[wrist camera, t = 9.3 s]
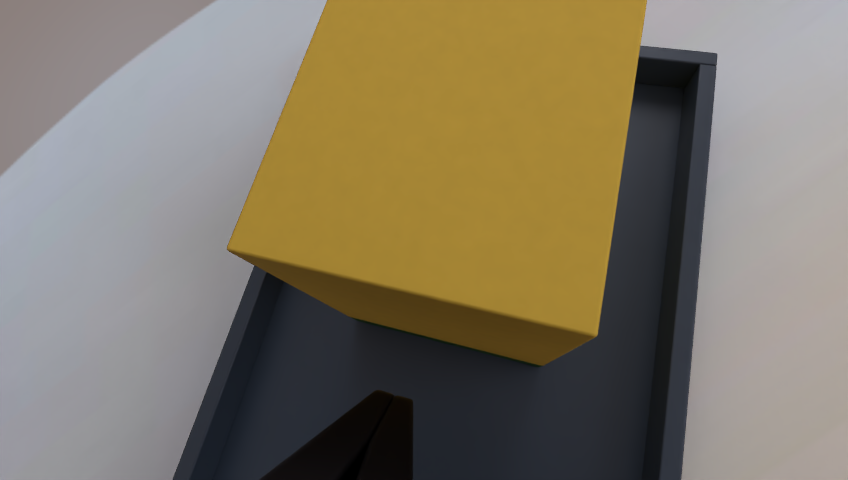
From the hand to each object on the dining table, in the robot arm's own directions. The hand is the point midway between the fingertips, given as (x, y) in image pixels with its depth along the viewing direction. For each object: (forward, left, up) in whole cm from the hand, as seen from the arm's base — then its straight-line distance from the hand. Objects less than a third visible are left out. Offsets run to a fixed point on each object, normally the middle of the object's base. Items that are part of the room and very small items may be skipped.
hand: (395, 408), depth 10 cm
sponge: (+3, +5, -7) cm, 9 cm away
